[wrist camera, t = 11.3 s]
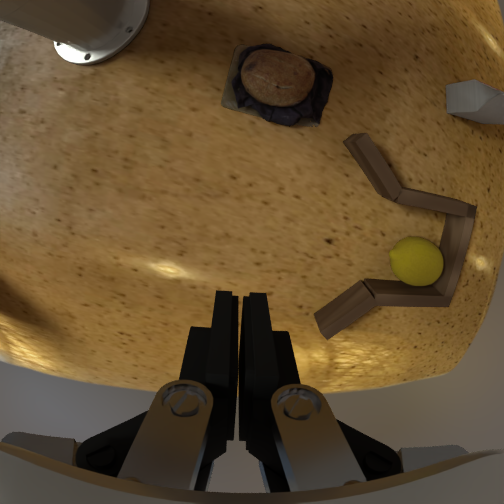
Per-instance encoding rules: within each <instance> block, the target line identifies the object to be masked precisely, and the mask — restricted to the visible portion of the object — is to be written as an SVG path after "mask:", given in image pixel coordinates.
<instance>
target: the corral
mask: <svg viewBox="0 0 504 504" xmlns="http://www.w3.org/2000/svg"><path fill="white" fill-rule="evenodd" d="M343 143H344V144H345V146H346V147H347V149H348V150H349V151H350V153H351V154H352V156H353V157H354V158H355V160H356V161H357V163H358V164H359V166H360V167H361V169H362V170H363V172H364V173H365V175H366V176H367V178H368V179H369V181H370V182H371V184H372V185H373V187H374V188H375V190H376V192H377V193H378V194H380V195H382V197H384V198H387V199H389V200H391V201H394V202H396V203H399V204H405V205H410V206H415V207H420V208H426V209H431V210H436V211H441V212H445V213H447V215H446V220H445V225H444V229H443V234H442V238H441V242H440V246H439V250H440V252H441V254H442V256H443V270H442V273H441V275H440V277H439V278H438V279H437V280H436V281H435V282H434V283H432V284H429V285H426V286H413V285H409V284H407V283H405V282H403V281H394V280H378V279H364V283H362V282H361V280H360V281H358V282H357V283H356V284H354V285H353V286H352V287H350V288H349V289H348V290H346V291H345V292H344V293H342V294H341V295H339V296H338V297H337V298H335V299H334V300H333V301H331V302H330V303H328V304H327V305H326V306H324V307H323V308H321V309H320V310H319V311H317V312H316V313H314V316H315V319H316V322H317V324H318V327H319V330H320V332H321V334H322V335H323V336H324V337H325V338H326V339H327V340H328V339H330V338H331V337H333V336H334V335H336V334H337V333H338V332H340V331H341V330H343V329H344V328H346V327H347V326H348V325H350V324H351V323H353V322H354V321H355V320H357V319H358V318H360V317H361V316H362V315H364V314H365V313H366V312H368V311H369V310H371V309H372V308H373V307H375V306H403V307H449V305H450V302H451V299H452V297H453V294H454V291H455V288H456V285H457V282H458V279H459V275H460V272H461V269H462V266H463V262H464V259H465V255H466V251H467V248H468V244H469V240H470V236H471V232H472V228H473V223H474V219H475V214H476V209H477V206H474V205H471V204H469V203H466V202H463V201H460V200H457V199H453V198H449V197H445V196H441V195H437V194H433V193H428V192H424V191H419V190H415V189H410V188H405V187H401V186H400V184H399V182H398V181H397V179H396V177H395V176H394V174H393V172H392V171H391V169H390V168H389V166H388V164H387V163H386V161H385V160H384V158H383V157H382V155H381V153H380V152H379V150H378V149H377V147H376V146H375V144H374V143H373V141H372V140H371V138H370V137H369V135H368V134H367V133H360V134H352V135H351V136H350V137H348V138H347V139H346V140H344V141H343Z"/></svg>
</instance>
